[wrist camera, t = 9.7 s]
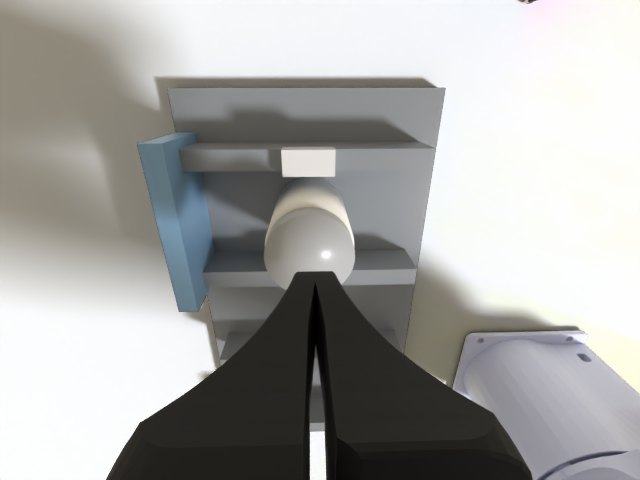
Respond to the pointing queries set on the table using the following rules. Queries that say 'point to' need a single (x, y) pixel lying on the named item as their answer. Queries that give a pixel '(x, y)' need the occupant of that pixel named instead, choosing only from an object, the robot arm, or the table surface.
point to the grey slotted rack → (268, 181)
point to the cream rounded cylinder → (309, 232)
